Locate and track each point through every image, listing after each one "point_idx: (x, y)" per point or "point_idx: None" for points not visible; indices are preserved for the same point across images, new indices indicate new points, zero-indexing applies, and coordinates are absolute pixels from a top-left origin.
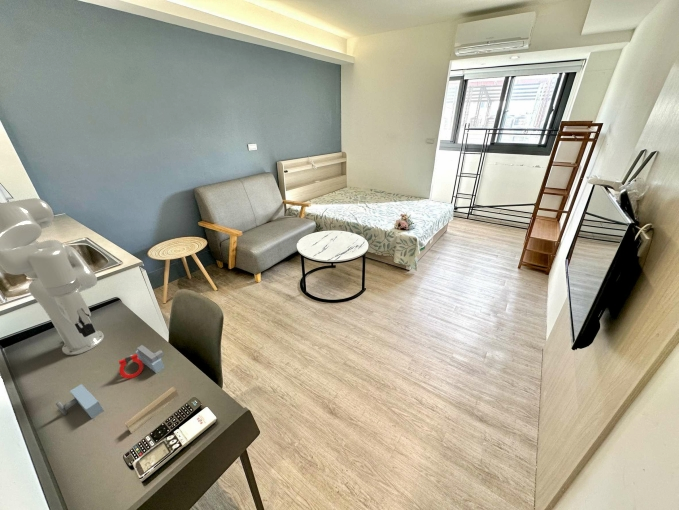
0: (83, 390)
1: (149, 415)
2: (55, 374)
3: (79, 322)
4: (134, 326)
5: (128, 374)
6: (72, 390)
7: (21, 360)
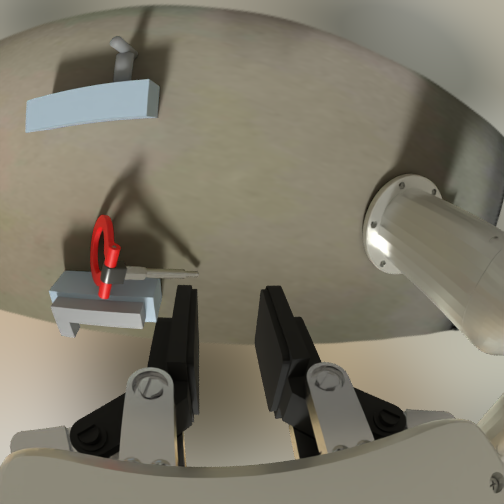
0: (104, 110)
1: None
2: (353, 110)
3: (125, 447)
4: (334, 329)
5: (101, 229)
6: (141, 85)
7: (470, 121)
